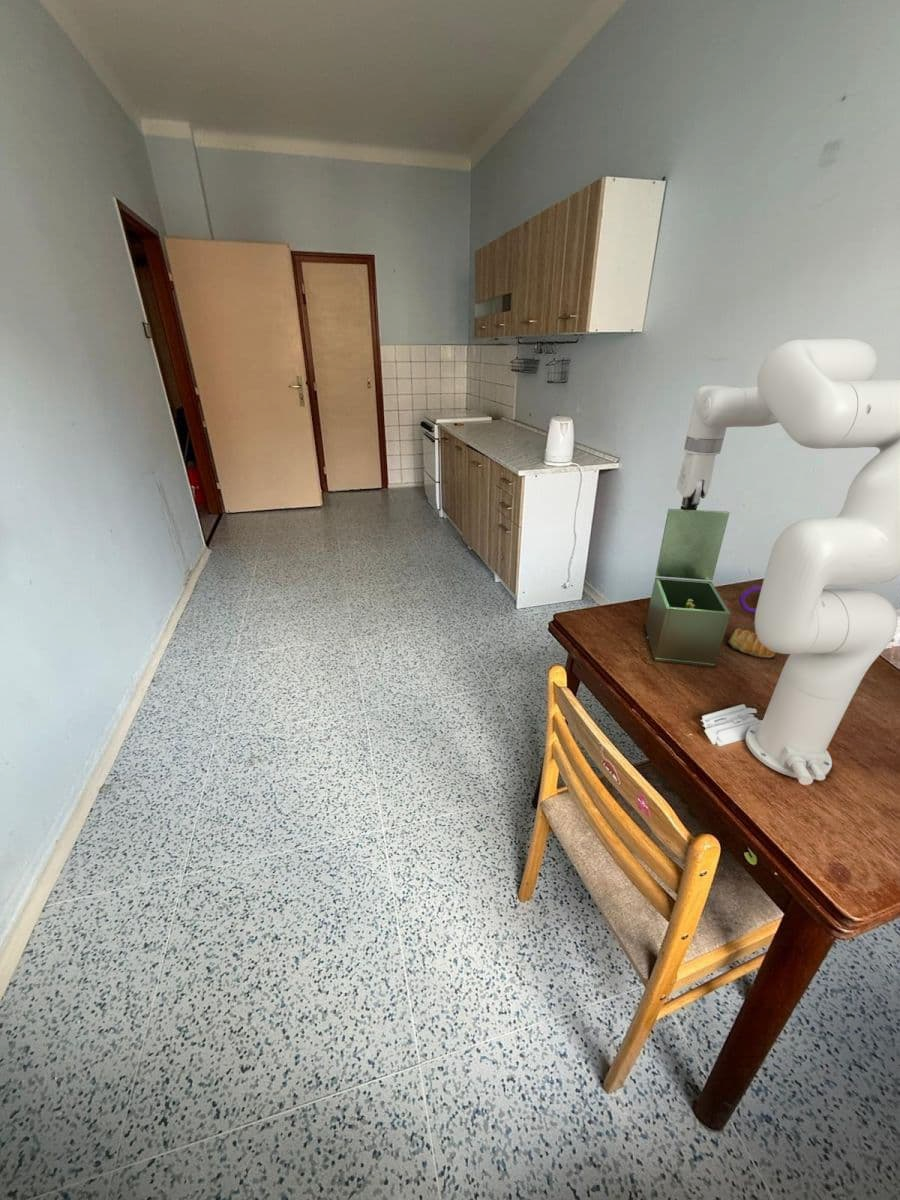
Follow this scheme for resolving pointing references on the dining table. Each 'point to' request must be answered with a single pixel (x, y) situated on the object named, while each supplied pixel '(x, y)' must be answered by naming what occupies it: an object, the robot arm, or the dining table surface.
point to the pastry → (749, 643)
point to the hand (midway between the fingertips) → (685, 522)
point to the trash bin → (686, 622)
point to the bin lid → (691, 543)
